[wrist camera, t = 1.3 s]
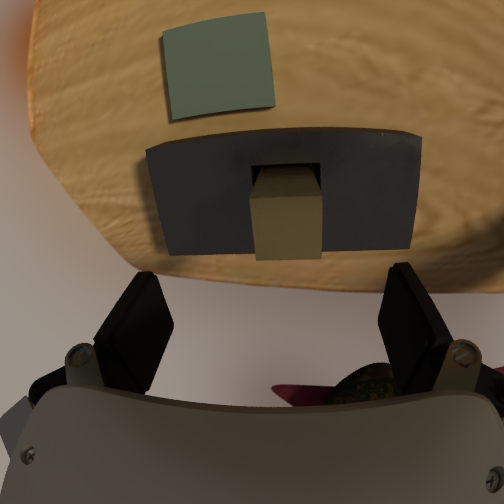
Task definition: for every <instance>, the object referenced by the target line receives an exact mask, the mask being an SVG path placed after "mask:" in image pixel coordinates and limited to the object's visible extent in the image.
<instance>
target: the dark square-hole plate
mask: <svg viewBox="0 0 504 504" xmlns="http://www.w3.org/2000/svg"><path fill="white" fill-rule="evenodd" d="M421 147H422V137H420V136H417V135H414V134H411V133H408V132H405V131H398V130H387V129H373V128H351V127H297V128H275V129H260V130H248V131H238V132H229V133H220V134H212V135H205V136H198V137H192V138H186V139H180V140H174V141H168V142H164V143H161V144H159V145H156V146H154V147H151V148H149V149H146V150H145V151H146V156H147V161H148V166H149V171H150V176H151V181H152V185H153V190H154V194H155V199H156V203H157V207H158V212H159V216H160V220H161V224H162V228H163V232H164V236H165V239H166V243H167V247H168V251H169V254H170V256H176V255H215V254H253V253H255V246H254V237H253V228H252V219H251V210H250V200H249V198H250V196H251V193H252V190H253V188H254V185H255V183H256V180H257V177H258V171H257V165H269V164H289V163H315V170H316V180H317V183H318V186H319V188H320V191H321V194H322V252H326V251H362V250H397V249H410V244H411V238H412V233H413V227H414V220H415V213H416V206H417V198H418V189H419V178H420V166H421Z"/></svg>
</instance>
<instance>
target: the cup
mask: <svg viewBox="0 0 504 504" xmlns="http://www.w3.org/2000/svg"><path fill="white" fill-rule="evenodd" d="M400 396H402V393H401V391H400V392H399V391H398V390H397V388H396V384H395V380H394V376H393V373H392V369H391V365H390V364H389V363H373V364H369V365H367V366H364V367H362V368H360V369H358V370H356V371H355V372H353V373H351V374H350V375H348V376H347V377H346V378H344V379H343V380H342V381H341V382H339V383H338V384H337V385H336V386H335V387H334V388H333V390H332V391H331V392H330V393H329V395H328V397H327V401H326V402H325V404H324V406H325V405H338V404H348V403H357V402H365V401H373V400H380V399H387V398H394V397H400Z"/></svg>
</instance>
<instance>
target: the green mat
mask: <svg viewBox="0 0 504 504" xmlns="http://www.w3.org/2000/svg"><path fill="white" fill-rule="evenodd" d="M163 42H164V53H165V62H166V71H167V80H168V88H169V96H170V103H171V111H172V118H173V120H175V119H180V118H185V117H191V116H196V115H202V114H209V113H215V112H223V111H230V110H239V109H248V108H259V107H273V106H276V105H275V95H274V85H273V75H272V66H271V58H270V49H269V41H268V33H267V25H266V18H265V13H264V12H259V13H250V14H241V15H234V16H228V17H222V18H216V19H211V20H206V21H201V22H197V23H193V24H189V25H185V26H181V27H177V28H173V29H170V30H166V31H163Z"/></svg>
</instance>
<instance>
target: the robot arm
mask: <svg viewBox="0 0 504 504" xmlns="http://www.w3.org/2000/svg"><path fill="white" fill-rule="evenodd" d="M378 326H379V329H380V332H381V335H382V339H383V342H384V345H385V348H386V352H387V355H388V358H389V362H390V365H391V369H392V373H393V376H394V380H395V384H396V388H397V390H398V391H399V392H400V391H401V393H402V396H400V397H394V398H387V399H380V400H373V401H365V402H357V403H348V404H338V405H325V406H306V407H247V406H228V405H216V404H206V403H196V402H188V401H180V400H173V399H167V398H160V397H154V396H149V395H145V392H146V391H148V390H149V389H150V387H151V384H152V381H153V379H154V376H155V374H156V371H157V369H158V366H159V364H160V361H161V359H162V356H163V353H164V351H165V349H166V346H167V343H168V341H169V339H170V336H171V334H172V331H173V329H174V323H173V319H172V317H171V314H170V311H169V309H168V306H167V303H166V301H165V298H164V295H163V292H162V289H161V286H160V283H159V281H158V278H157V276H156V275H154V274H153V273H152V272H151V271H142V272H138V273H137V274H136V275H135V277H134V278H133V280H132V281H131V282H130V284H129V285H128V287H127V288H126V290H125V291H124V293H123V294H122V296H121V297H120V298H119V300H118V301H117V303H116V304H115V306H114V308H113V309H112V310H111V312H110V313H109V315H108V317H107V318H106V319H105V321H104V323H103V324H102V326H101V327H100V329H99V331H98V332H97V334H96V335H95V337H94V338H93V340H94V342H95V343H94V345H93V346H92V345H91V344H89V343H81V344H78V345H76V346H74V347H73V348H71V349H70V351H69V352H68V353H67V355H66V357H65V366H63V367H61V368H59V369H57V370H55V371H53V372H51V373H49V374H47V375H45V376H43V377H41V378H39V379H37V380H36V381H35V382H34V383H33V384H32V385H31V387H30V389H29V397H27V396H24V397H23V398H22V399H21V400H20V401H19V402H17V403H16V404H15V405H14V406H13V407H12V408H11V409H9V410H8V411H7V412H6V413H5V414H4V415H3V416H2V417H1V418H0V435H1V437H2V440H3V443H4V445H5V448H6V450H7V453H8V455H9V457H10V463H9V466H8V468H7V472H6V475H5V478H4V482H3V486H2V490H1V494H0V504H504V374H502V373H500V372H498V371H496V370H494V369H492V368H490V367H488V366H486V365H484V364H483V363H482V355H481V352H480V350H479V348H478V347H477V346H476V345H475V344H474V343H472V342H471V341H469V340H465V339H458V340H455V341H454V340H453V338H452V336H451V334H450V332H449V330H448V328H447V326H446V325H445V322H444V321H443V319H442V317H441V315H440V313H439V311H438V310H437V308H436V306H435V304H434V303H433V301H432V299H431V297H430V296H429V295H428V293H427V291H426V289H425V288H424V286H423V284H422V283H421V281H420V280H419V278H418V276H417V275H416V273H415V272H414V270H413V268H412V267H411V265H410V264H409V263H408V262H404V263H395V264H394V265H393V267H390V268H389V272H388V277H387V282H386V287H385V291H384V295H383V300H382V304H381V308H380V312H379V316H378Z"/></svg>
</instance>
